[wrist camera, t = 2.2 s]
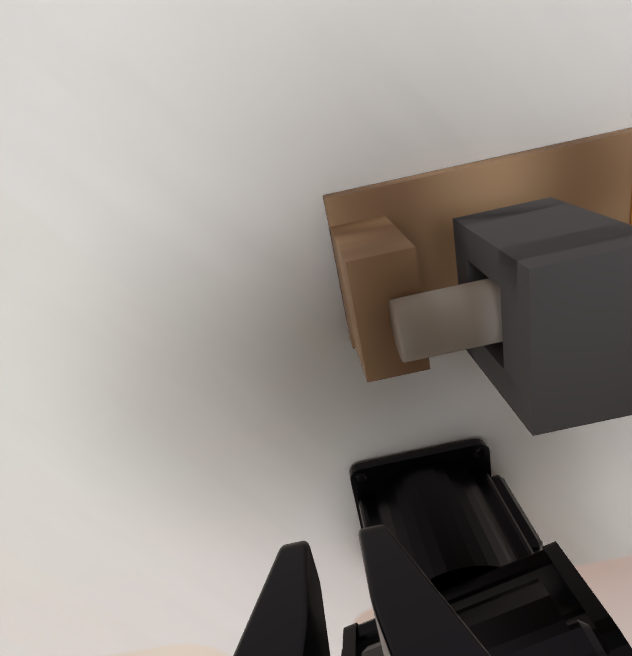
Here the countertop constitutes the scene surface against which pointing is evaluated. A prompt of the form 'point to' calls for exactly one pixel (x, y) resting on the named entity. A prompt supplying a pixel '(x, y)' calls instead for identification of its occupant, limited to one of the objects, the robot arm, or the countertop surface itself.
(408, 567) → the robot arm
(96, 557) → the countertop surface
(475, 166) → the rail
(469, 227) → the charcoal grey block
